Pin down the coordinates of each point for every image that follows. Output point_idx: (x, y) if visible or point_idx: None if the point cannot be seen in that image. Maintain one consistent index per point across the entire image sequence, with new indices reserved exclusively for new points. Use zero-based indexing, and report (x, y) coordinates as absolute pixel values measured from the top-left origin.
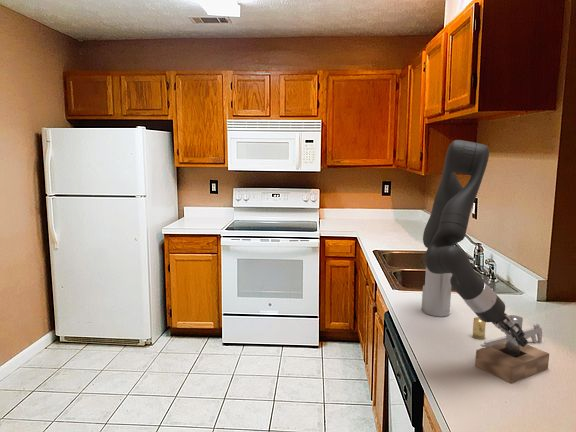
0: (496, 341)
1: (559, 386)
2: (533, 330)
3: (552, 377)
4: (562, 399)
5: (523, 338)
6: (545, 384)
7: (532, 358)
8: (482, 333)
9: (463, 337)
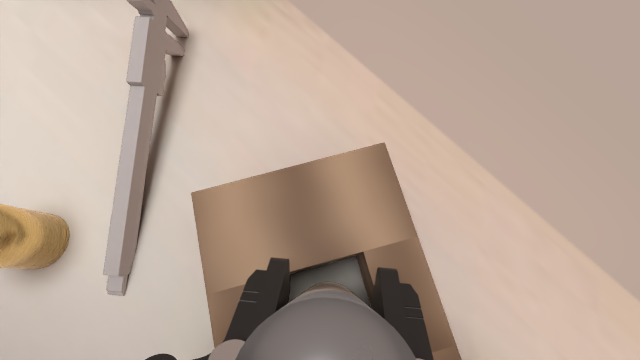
0: (130, 219)
1: (502, 232)
2: (152, 26)
3: (435, 203)
4: (598, 302)
5: (426, 337)
6: (483, 275)
7: (419, 269)
8: (41, 239)
9: (8, 318)
